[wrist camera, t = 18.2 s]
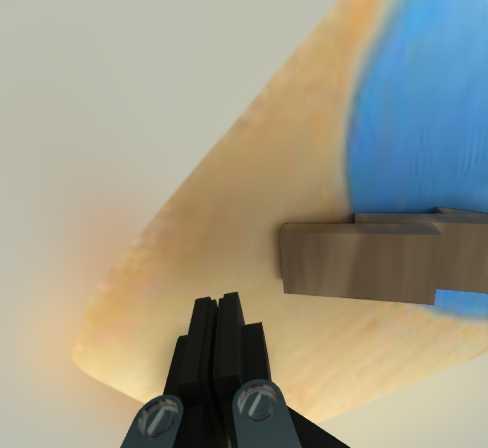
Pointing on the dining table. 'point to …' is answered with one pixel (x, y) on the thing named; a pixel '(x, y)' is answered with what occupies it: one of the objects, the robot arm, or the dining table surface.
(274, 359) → the dining table surface
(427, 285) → the walnut domino
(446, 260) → the walnut domino
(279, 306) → the dining table surface
